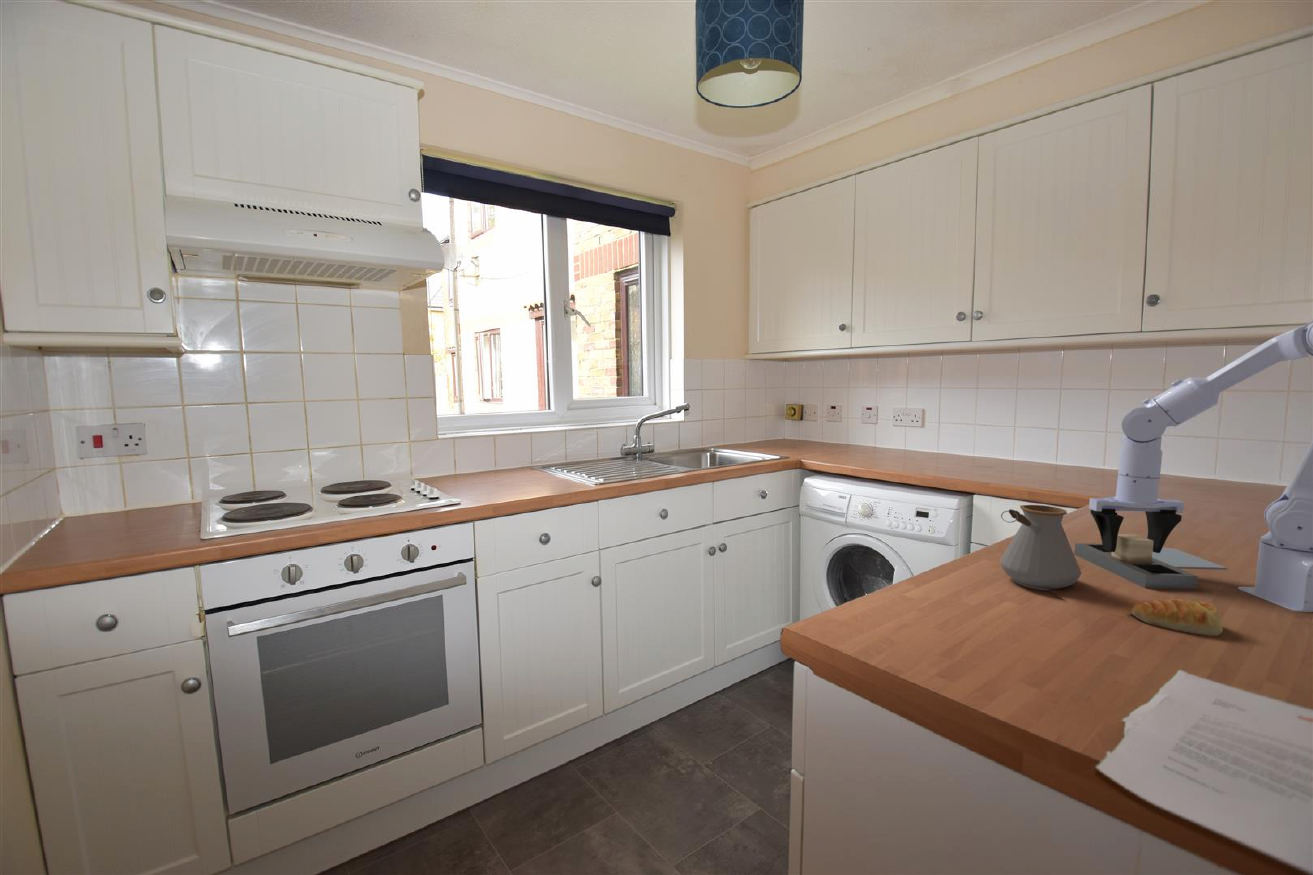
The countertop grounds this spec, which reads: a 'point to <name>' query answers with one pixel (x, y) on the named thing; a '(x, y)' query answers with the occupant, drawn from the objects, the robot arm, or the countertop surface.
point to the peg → (1133, 548)
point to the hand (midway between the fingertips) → (1131, 550)
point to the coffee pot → (1040, 550)
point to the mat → (1183, 559)
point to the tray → (1138, 569)
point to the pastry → (1180, 615)
